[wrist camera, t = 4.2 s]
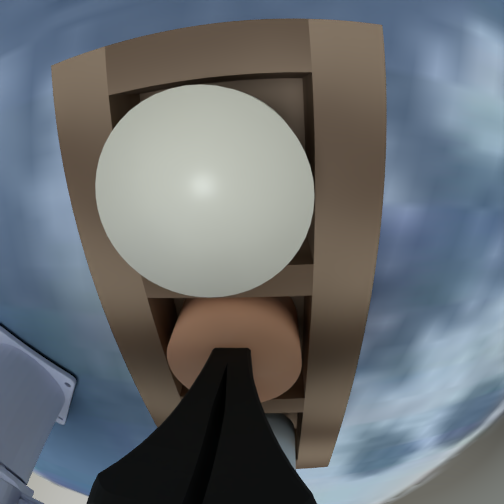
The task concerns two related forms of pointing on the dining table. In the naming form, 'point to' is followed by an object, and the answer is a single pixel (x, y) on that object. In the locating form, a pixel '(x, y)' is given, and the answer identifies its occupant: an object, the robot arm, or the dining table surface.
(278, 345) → the terracotta button
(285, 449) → the slate button
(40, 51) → the dining table surface
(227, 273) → the cream button
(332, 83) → the button board
